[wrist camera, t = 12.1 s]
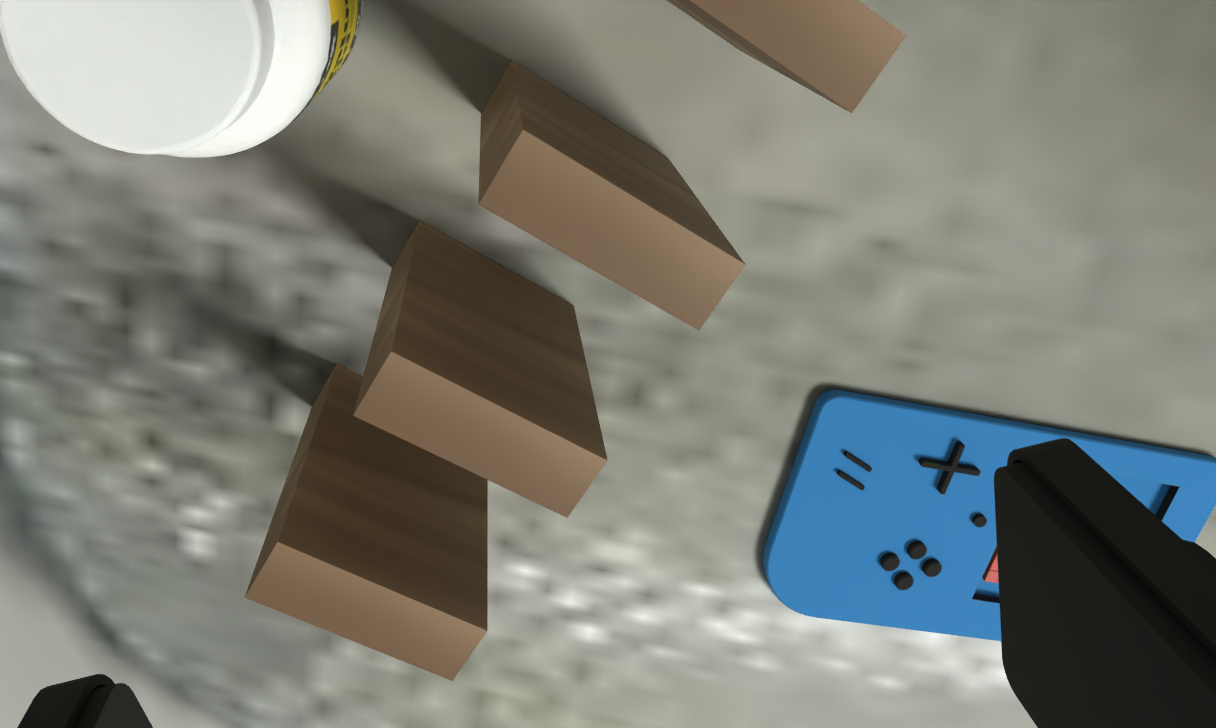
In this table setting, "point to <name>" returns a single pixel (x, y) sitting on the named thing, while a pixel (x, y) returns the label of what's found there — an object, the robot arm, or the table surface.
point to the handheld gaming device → (931, 510)
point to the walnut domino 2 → (377, 539)
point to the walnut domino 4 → (806, 40)
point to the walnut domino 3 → (600, 198)
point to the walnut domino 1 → (483, 373)
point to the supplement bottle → (177, 67)
